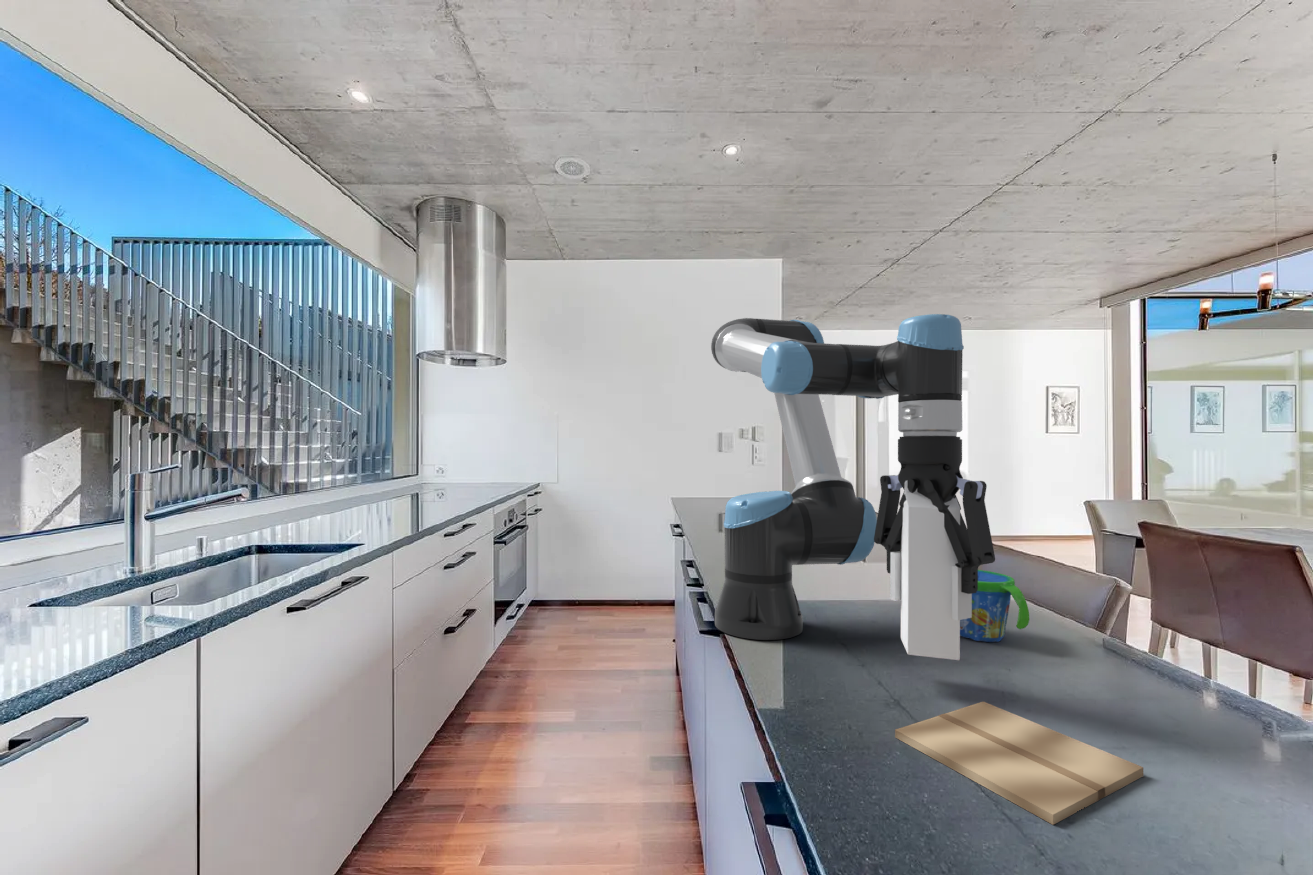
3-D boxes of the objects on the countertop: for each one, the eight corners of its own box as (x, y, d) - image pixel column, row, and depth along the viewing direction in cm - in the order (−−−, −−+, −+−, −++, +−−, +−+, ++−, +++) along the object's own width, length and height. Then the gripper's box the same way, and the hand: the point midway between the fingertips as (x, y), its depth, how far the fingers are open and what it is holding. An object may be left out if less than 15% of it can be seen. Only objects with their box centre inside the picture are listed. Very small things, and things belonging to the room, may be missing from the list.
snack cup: (1047, 648, 83) (1046, 583, 84) (995, 655, 80) (994, 587, 80) (963, 619, 98) (962, 563, 98) (916, 624, 95) (915, 567, 95)
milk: (900, 639, 73) (900, 478, 74) (949, 644, 72) (948, 479, 72) (907, 655, 68) (907, 481, 68) (961, 661, 66) (960, 482, 66)
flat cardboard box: (895, 737, 56) (895, 729, 56) (983, 708, 63) (983, 700, 63) (1053, 824, 43) (1052, 814, 43) (1143, 776, 50) (1143, 766, 50)
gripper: (846, 435, 78) (846, 591, 78) (993, 433, 59) (992, 638, 59) (882, 436, 81) (882, 585, 81) (1032, 434, 62) (1032, 629, 62)
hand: (928, 607), depth 70 cm, fingers closed on milk, 8 cm apart
